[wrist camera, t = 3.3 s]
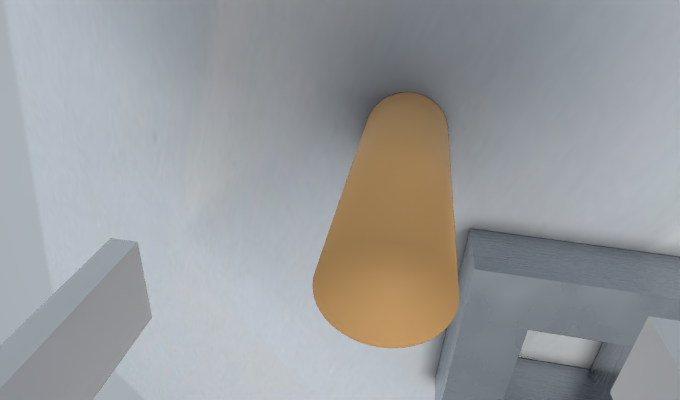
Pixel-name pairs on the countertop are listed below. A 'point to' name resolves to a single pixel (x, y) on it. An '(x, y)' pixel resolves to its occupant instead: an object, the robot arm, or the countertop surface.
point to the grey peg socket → (548, 315)
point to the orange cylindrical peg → (393, 231)
